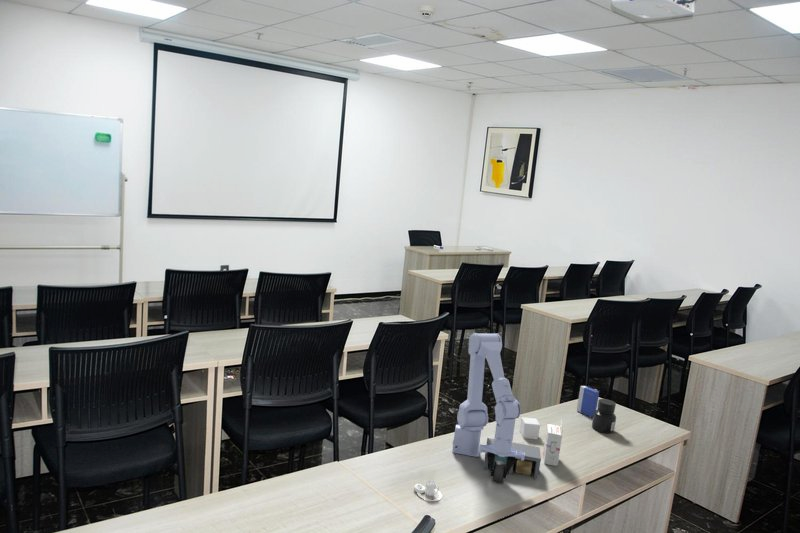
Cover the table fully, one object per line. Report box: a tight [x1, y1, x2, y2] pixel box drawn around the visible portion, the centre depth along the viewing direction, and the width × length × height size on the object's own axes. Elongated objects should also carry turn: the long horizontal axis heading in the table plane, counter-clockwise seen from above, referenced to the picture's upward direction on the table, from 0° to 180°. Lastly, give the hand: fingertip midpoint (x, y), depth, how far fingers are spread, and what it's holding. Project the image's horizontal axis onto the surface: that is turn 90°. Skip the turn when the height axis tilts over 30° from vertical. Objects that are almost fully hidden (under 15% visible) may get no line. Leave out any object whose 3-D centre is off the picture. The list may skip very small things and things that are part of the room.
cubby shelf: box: [483, 437, 542, 480], centre depth 199 cm, size 18×9×7 cm, turn 79°
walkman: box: [576, 385, 600, 418], centre depth 258 cm, size 8×3×12 cm, turn 39°
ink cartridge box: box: [542, 418, 563, 467], centre depth 208 cm, size 9×5×15 cm, turn 168°
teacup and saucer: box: [413, 479, 443, 502], centre depth 177 cm, size 9×8×4 cm
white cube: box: [519, 416, 541, 440], centre depth 229 cm, size 6×6×6 cm
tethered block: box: [491, 454, 507, 485], centre depth 195 cm, size 5×16×6 cm, turn 169°
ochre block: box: [514, 458, 533, 475], centre depth 199 cm, size 5×5×4 cm
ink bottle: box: [591, 398, 617, 434], centre depth 242 cm, size 10×9×12 cm
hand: (498, 476), depth 190 cm, fingers closed on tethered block, 4 cm apart
